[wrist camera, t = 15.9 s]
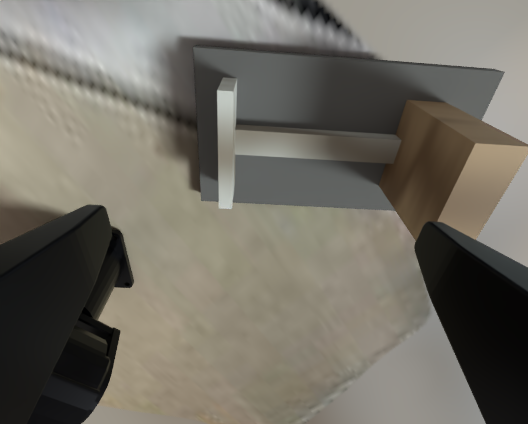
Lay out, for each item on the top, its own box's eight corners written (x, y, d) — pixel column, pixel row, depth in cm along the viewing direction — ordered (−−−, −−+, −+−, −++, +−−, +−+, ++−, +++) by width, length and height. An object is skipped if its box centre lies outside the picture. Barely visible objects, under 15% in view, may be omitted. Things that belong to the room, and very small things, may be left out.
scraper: (409, 193, 22) (463, 259, 16) (223, 183, 21) (211, 249, 16) (449, 94, 18) (539, 135, 12) (223, 77, 17) (206, 113, 12)
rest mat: (430, 205, 24) (436, 212, 23) (203, 193, 23) (201, 200, 22) (493, 68, 18) (504, 72, 18) (196, 45, 17) (193, 47, 17)
